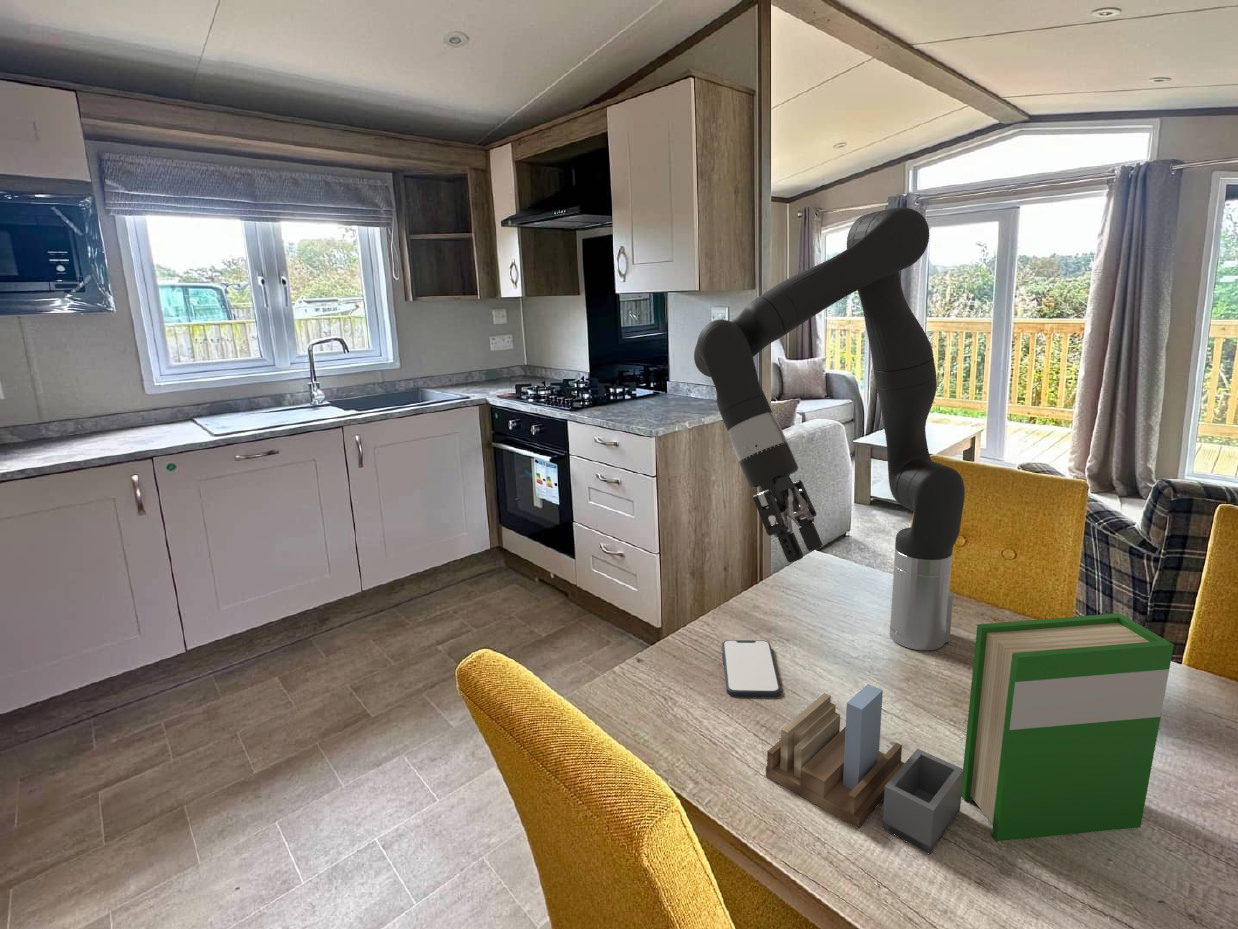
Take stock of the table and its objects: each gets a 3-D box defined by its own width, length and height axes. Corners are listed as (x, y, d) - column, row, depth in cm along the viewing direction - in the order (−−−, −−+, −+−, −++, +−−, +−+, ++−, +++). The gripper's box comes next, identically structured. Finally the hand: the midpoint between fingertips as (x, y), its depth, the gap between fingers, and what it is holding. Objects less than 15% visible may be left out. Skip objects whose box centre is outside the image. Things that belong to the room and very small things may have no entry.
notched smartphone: (782, 701, 107) (770, 647, 122) (782, 692, 106) (770, 639, 122) (726, 700, 108) (721, 647, 123) (726, 691, 107) (721, 639, 123)
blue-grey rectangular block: (842, 785, 85) (846, 703, 82) (863, 763, 89) (867, 684, 86) (857, 793, 84) (862, 709, 81) (877, 770, 88) (882, 690, 85)
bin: (882, 828, 80) (884, 786, 79) (914, 788, 86) (917, 748, 85) (929, 854, 76) (933, 810, 75) (959, 810, 82) (964, 769, 81)
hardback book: (996, 841, 78) (1018, 657, 72) (960, 795, 85) (977, 624, 79) (1140, 827, 79) (1173, 644, 73) (1092, 783, 86) (1119, 613, 80)
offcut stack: (780, 768, 89) (781, 729, 87) (823, 729, 96) (824, 693, 95) (800, 779, 87) (801, 739, 85) (842, 738, 94) (844, 701, 93)
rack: (765, 776, 90) (766, 750, 89) (816, 730, 98) (817, 706, 97) (858, 828, 80) (860, 800, 79) (905, 773, 89) (907, 747, 88)
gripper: (766, 442, 90) (814, 556, 87) (801, 437, 101) (845, 537, 99) (719, 464, 94) (765, 573, 91) (758, 456, 106) (799, 553, 103)
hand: (806, 554), depth 95 cm, fingers open, 8 cm apart
